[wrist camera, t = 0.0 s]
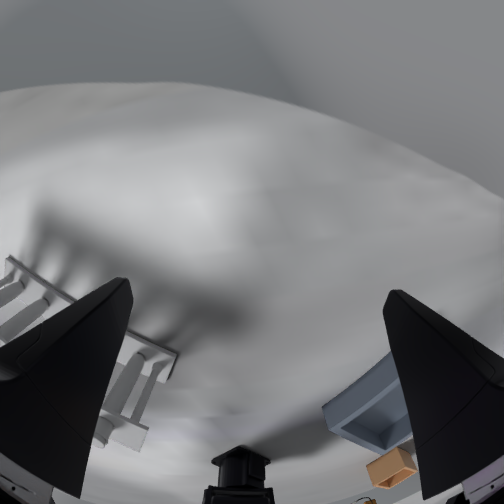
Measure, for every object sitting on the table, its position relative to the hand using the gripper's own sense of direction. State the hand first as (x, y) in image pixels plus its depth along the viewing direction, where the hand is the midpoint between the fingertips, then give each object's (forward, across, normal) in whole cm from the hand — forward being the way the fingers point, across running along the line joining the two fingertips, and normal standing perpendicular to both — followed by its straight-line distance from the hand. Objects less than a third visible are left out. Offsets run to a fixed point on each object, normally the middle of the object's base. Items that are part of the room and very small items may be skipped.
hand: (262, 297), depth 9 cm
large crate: (+10, -19, +24) cm, 32 cm away
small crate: (+5, -27, +43) cm, 51 cm away
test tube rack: (+12, +20, +15) cm, 28 cm away
